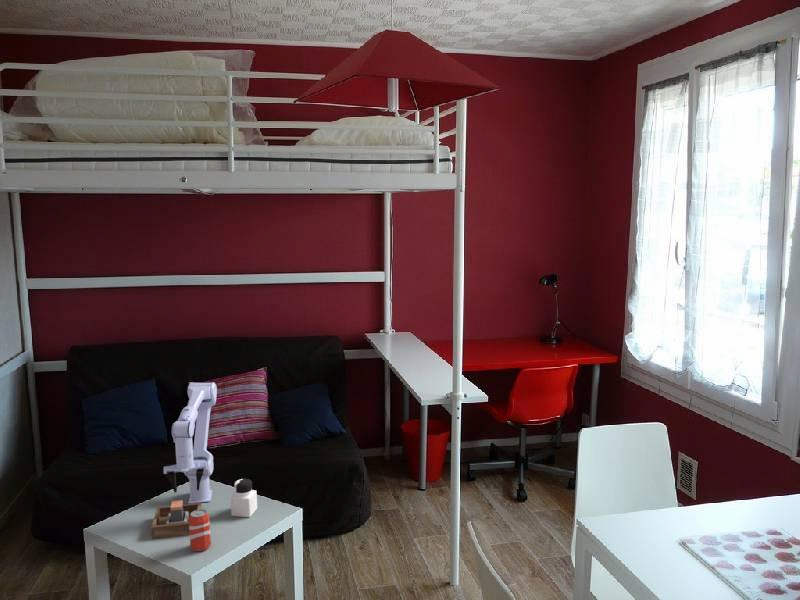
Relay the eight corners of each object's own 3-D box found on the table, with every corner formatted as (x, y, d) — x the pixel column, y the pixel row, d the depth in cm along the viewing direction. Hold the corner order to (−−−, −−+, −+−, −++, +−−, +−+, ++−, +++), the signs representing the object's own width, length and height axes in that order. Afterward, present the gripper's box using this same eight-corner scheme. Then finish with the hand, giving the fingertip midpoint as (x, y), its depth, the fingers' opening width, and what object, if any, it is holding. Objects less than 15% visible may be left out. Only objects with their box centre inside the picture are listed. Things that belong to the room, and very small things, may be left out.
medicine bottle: (257, 508, 243) (256, 477, 241) (250, 517, 236) (248, 485, 234) (239, 507, 244) (237, 476, 242) (231, 516, 237) (229, 484, 235)
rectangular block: (173, 520, 233) (172, 501, 232) (183, 518, 234) (182, 500, 232) (171, 526, 228) (170, 507, 227) (182, 525, 229) (181, 506, 228)
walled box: (158, 517, 237) (157, 507, 236) (202, 513, 240) (201, 502, 239) (151, 538, 222) (151, 527, 222) (198, 533, 225) (197, 522, 225)
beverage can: (205, 540, 221) (202, 506, 219) (214, 547, 216) (212, 513, 214) (187, 547, 217) (185, 512, 215) (196, 554, 212) (194, 519, 210)
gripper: (161, 460, 228) (163, 497, 230) (205, 456, 231) (207, 493, 233) (164, 452, 235) (166, 488, 237) (206, 448, 238) (208, 484, 240)
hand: (186, 490), depth 236 cm, fingers open, 7 cm apart
